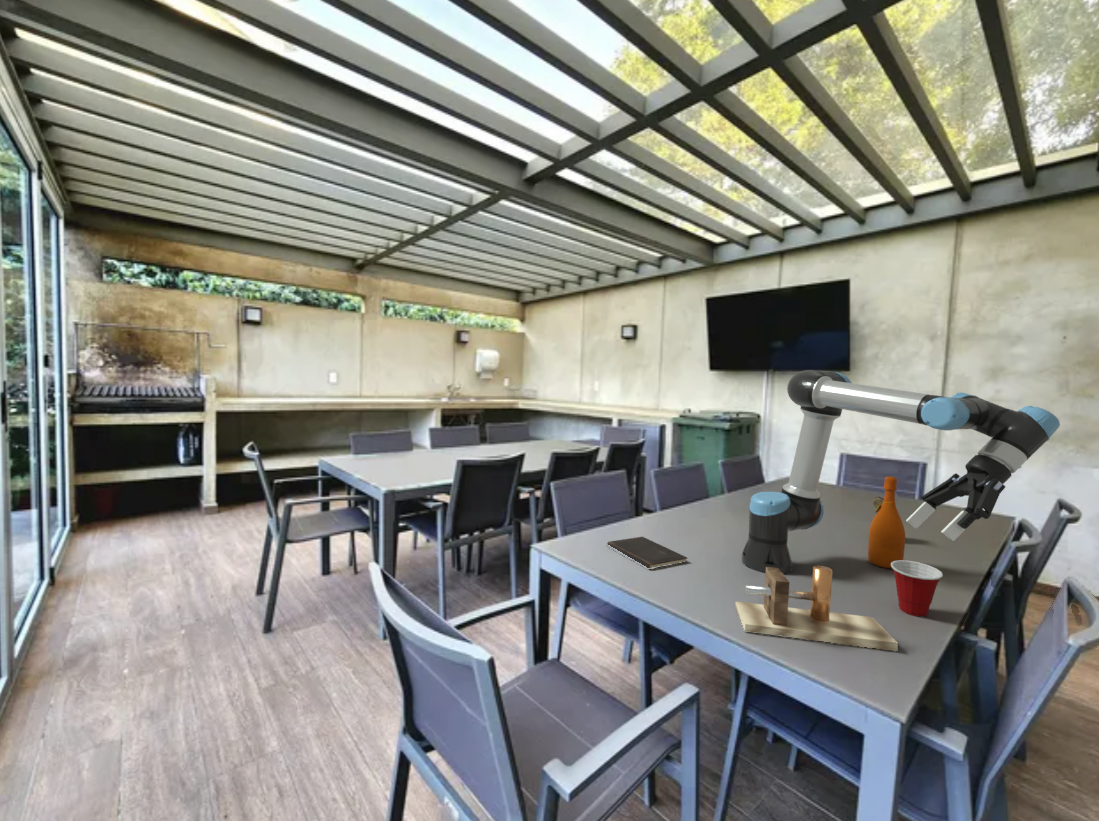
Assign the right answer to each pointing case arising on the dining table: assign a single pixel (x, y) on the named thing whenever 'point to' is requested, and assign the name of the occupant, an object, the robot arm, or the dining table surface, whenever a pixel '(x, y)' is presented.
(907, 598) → the plastic cup
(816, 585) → the copper cylinder with rod
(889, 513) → the wine bottle
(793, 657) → the dining table surface
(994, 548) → the dining table surface
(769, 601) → the copper canister stand
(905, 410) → the robot arm
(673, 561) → the hardcover book
